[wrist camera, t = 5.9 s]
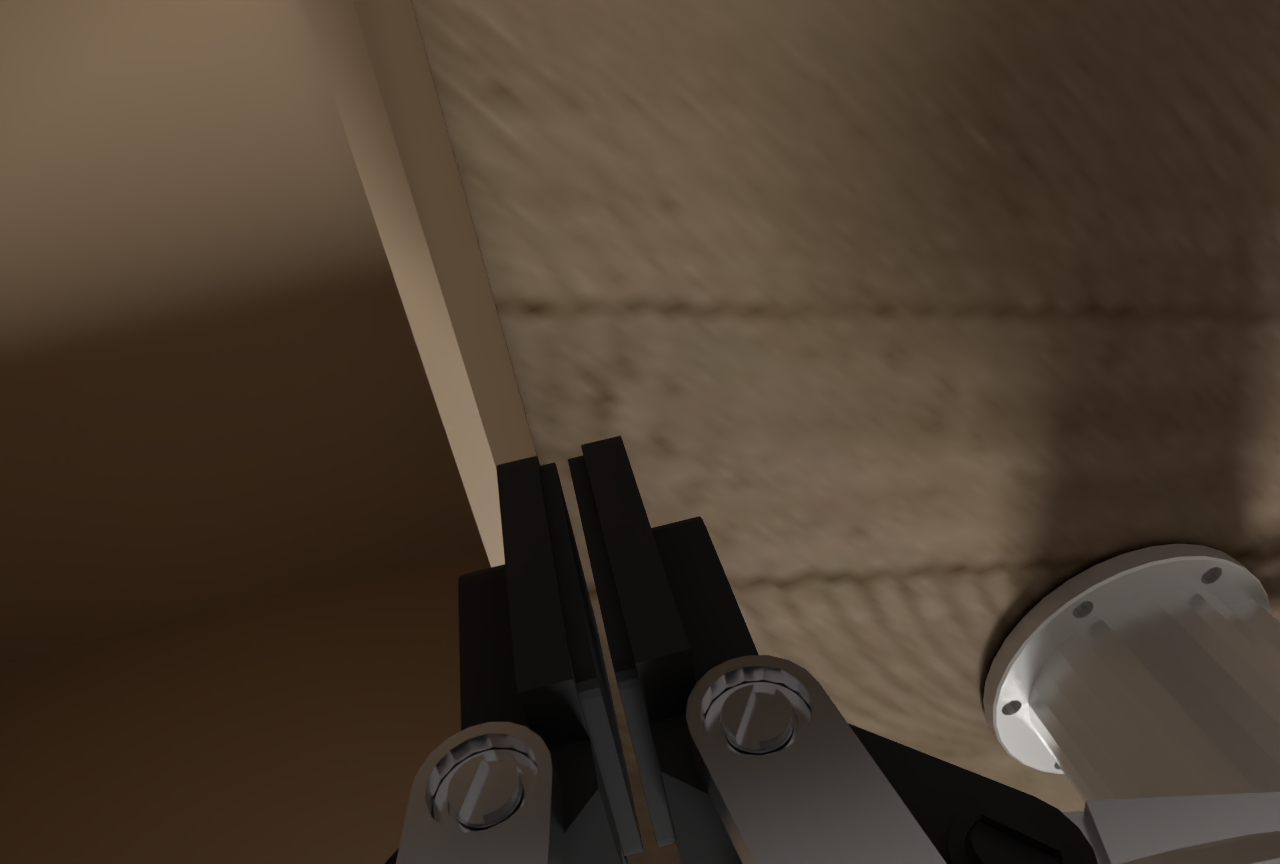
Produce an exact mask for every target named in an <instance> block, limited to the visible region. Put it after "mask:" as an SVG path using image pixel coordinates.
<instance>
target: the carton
mask: <svg viewBox="0 0 1280 864" xmlns="http://www.w3.org/2000/svg"><path fill="white" fill-rule="evenodd" d="M533 456H537V454H536V450H535V446H534V443H533V439H532V435H531V432H530V428H529V425H528V421H527V417H526V414H525V410H524V406H523V403H522V399H521V396H520V392H519V388H518V385H517V381H516V378H515V374H514V370H513V367H512V363H511V359H510V356H509V352H508V349H507V345H506V341H505V338H504V334H503V330H502V327H501V323H500V320H499V316H498V312H497V309H496V305H495V302H494V298H493V294H492V291H491V287H490V283H489V280H488V276H487V273H486V269H485V265H484V262H483V258H482V254H481V251H480V247H479V244H478V240H477V236H476V233H475V229H474V226H473V222H472V218H471V215H470V211H469V207H468V204H467V200H466V197H465V193H464V189H463V186H462V182H461V178H460V175H459V171H458V168H457V164H456V160H455V157H454V153H453V150H452V146H451V142H450V139H449V135H448V131H447V128H446V124H445V121H444V117H443V113H442V110H441V106H440V102H439V99H438V95H437V92H436V88H435V84H434V81H433V77H432V74H431V70H430V66H429V63H428V59H427V55H426V52H425V48H424V45H423V41H422V37H421V34H420V30H419V26H418V23H417V19H416V16H415V12H414V8H413V5H412V1H411V0H0V864H385V862H386V861H387V860H388V859H389V858H390V857H391V856H392V855H393V853H394V852H395V851H396V850H397V849H398V848H399V846H400V841H401V836H402V831H403V826H404V821H405V816H406V811H407V806H408V801H409V797H410V792H411V788H412V785H413V783H414V780H415V777H416V775H417V772H418V770H419V768H420V767H421V766H422V764H423V763H424V762H425V760H426V759H427V757H428V756H429V755H430V753H431V752H432V751H434V750H435V749H436V748H437V747H438V746H439V745H441V744H442V743H443V742H444V741H445V740H446V739H448V738H449V737H451V736H453V735H455V734H457V733H459V732H460V731H461V702H460V654H459V606H458V580H459V577H460V575H463V574H467V573H471V572H475V571H479V570H483V569H487V568H491V567H495V566H500V565H504V564H505V557H504V546H503V535H502V524H501V514H500V503H499V492H498V481H497V468H496V466H497V465H499V464H503V463H508V462H512V461H516V460H520V459H525V458H529V457H533Z"/></svg>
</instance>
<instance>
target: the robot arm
mask: <svg viewBox="0 0 1280 864" xmlns="http://www.w3.org/2000/svg"><path fill="white" fill-rule="evenodd" d="M581 447H582V451H583V455H584V456H580V457H576V458H571V459H568V462H569V467H570V471H571V476H572V481H573V485H574V490H575V494H576V499H577V504H578V508H579V513H580V517H581V522H582V526H583V531H584V536H585V540H586V545H587V549H588V554H589V558H590V563H591V568H592V572H593V577H594V581H595V586H596V591H597V595H598V600H599V604H600V609H601V613H602V618H603V623H604V627H605V632H606V636H607V641H608V645H609V650H610V654H611V659H612V663H613V667H614V672H615V676H616V680H617V684H618V688H619V692H620V696H621V700H622V704H623V708H624V712H625V716H626V720H627V724H628V728H629V732H630V736H631V740H632V744H633V748H634V752H635V756H636V760H637V764H638V768H639V772H640V776H641V780H642V784H643V788H644V792H645V797H646V801H647V805H648V809H649V813H650V817H651V821H652V825H653V829H654V833H655V837H656V841H657V844H658V847H662V846H666V845H669V844H673V843H676V844H677V848H678V852H679V856H680V860H681V864H1280V622H1279V621H1278V620H1276V619H1275V618H1274V617H1273V616H1272V615H1271V611H1270V606H1269V600H1268V595H1267V593H1266V591H1265V590H1264V588H1263V586H1262V584H1261V582H1260V581H1259V580H1258V579H1257V578H1256V577H1255V576H1254V575H1253V574H1252V573H1251V572H1250V571H1249V570H1247V569H1246V568H1245V567H1244V566H1243V565H1242V564H1241V563H1240V562H1239V561H1237V560H1235V559H1234V558H1232V557H1231V556H1229V555H1227V554H1226V553H1224V552H1223V551H1220V550H1216V549H1213V548H1210V547H1206V546H1203V545H1191V544H1169V545H1160V546H1151V547H1147V548H1143V549H1139V550H1136V551H1132V552H1128V553H1124V554H1121V555H1118V556H1116V557H1114V558H1111V559H1109V560H1106V561H1104V562H1101V563H1099V564H1096V565H1094V566H1092V567H1091V568H1089V569H1087V570H1085V571H1083V572H1082V573H1080V574H1078V575H1076V576H1074V577H1073V578H1071V579H1069V580H1067V581H1066V582H1065V583H1063V584H1062V585H1061V586H1059V587H1058V588H1057V589H1055V590H1054V591H1052V592H1051V593H1050V594H1048V595H1047V596H1046V597H1044V598H1043V599H1042V600H1041V601H1040V602H1039V603H1038V604H1037V605H1036V606H1035V607H1033V608H1032V609H1031V610H1030V611H1029V612H1028V613H1027V614H1026V615H1025V616H1024V617H1023V618H1022V619H1021V620H1020V622H1019V623H1018V624H1017V625H1016V627H1015V628H1014V629H1013V630H1012V631H1011V633H1010V634H1009V635H1008V636H1007V638H1006V639H1005V641H1004V642H1003V644H1002V646H1001V648H1000V649H999V651H998V653H997V655H996V656H995V658H994V660H993V662H992V665H991V667H990V670H989V673H988V676H987V679H986V682H985V689H984V698H983V704H984V710H985V717H986V720H987V722H988V724H989V726H990V728H991V730H992V732H993V734H994V735H995V737H996V738H997V739H998V741H999V742H1000V744H1001V745H1002V746H1003V748H1004V749H1005V751H1006V752H1007V753H1008V754H1009V755H1010V756H1012V757H1013V758H1014V759H1016V760H1017V761H1018V762H1020V763H1021V764H1023V765H1026V766H1029V767H1031V768H1034V769H1036V770H1039V771H1044V772H1050V773H1057V774H1065V775H1066V776H1067V778H1068V779H1069V781H1070V782H1071V784H1072V785H1073V786H1074V788H1075V789H1076V791H1077V792H1078V794H1079V795H1080V796H1081V798H1082V799H1083V801H1084V802H1085V809H1084V811H1076V812H1061V811H1060V810H1058V809H1057V808H1055V807H1053V806H1051V805H1049V804H1047V803H1046V802H1044V801H1042V800H1040V799H1038V798H1036V797H1034V796H1032V795H1029V794H1027V793H1024V792H1021V791H1019V790H1016V789H1014V788H1011V787H1009V786H1006V785H1004V784H1001V783H999V782H996V781H993V780H991V779H988V778H986V777H983V776H981V775H978V774H976V773H973V772H971V771H968V770H965V769H963V768H960V767H958V766H955V765H953V764H950V763H948V762H945V761H943V760H940V759H937V758H935V757H932V756H930V755H927V754H925V753H922V752H920V751H917V750H915V749H912V748H909V747H907V746H904V745H902V744H899V743H897V742H894V741H892V740H889V739H887V738H884V737H881V736H879V735H876V734H874V733H871V732H869V731H866V730H864V729H861V728H859V727H856V726H853V725H851V724H848V723H847V722H846V720H845V719H844V717H843V716H842V714H841V713H840V712H839V710H838V709H837V707H836V706H835V705H834V703H833V702H832V700H831V699H830V697H829V696H828V695H827V693H826V692H825V690H824V689H823V687H822V686H821V685H820V683H819V682H818V681H817V680H816V679H815V678H814V677H813V676H812V675H811V674H810V673H809V672H808V671H807V670H806V669H804V668H802V667H801V666H799V665H797V664H795V663H793V662H791V661H789V660H786V659H782V658H778V657H774V656H769V655H758V652H757V650H756V647H755V645H754V643H753V640H752V638H751V635H750V633H749V630H748V628H747V626H746V623H745V621H744V618H743V616H742V613H741V611H740V609H739V606H738V604H737V601H736V599H735V596H734V594H733V592H732V589H731V587H730V584H729V582H728V579H727V577H726V575H725V572H724V570H723V567H722V565H721V563H720V560H719V558H718V555H717V553H716V550H715V548H714V546H713V543H712V541H711V538H710V536H709V533H708V531H707V529H706V526H705V524H704V522H703V520H702V518H701V517H700V516H699V517H695V518H691V519H687V520H683V521H679V522H675V523H671V524H667V525H662V526H658V527H654V528H651V527H650V524H649V521H648V518H647V515H646V511H645V508H644V505H643V502H642V499H641V496H640V493H639V490H638V487H637V484H636V481H635V478H634V475H633V471H632V468H631V465H630V462H629V459H628V456H627V453H626V450H625V447H624V444H623V441H622V438H621V436H617V437H613V438H609V439H605V440H600V441H596V442H592V443H588V444H584V445H581ZM496 468H497V481H498V492H499V503H500V514H501V524H502V535H503V546H504V557H505V564H504V565H500V566H495V567H491V568H487V569H483V570H479V571H475V572H471V573H467V574H463V575H460V577H459V580H458V606H459V654H460V702H461V731H460V732H459V733H457V734H455V735H453V736H451V737H449V738H448V739H446V740H445V741H444V742H443V743H442V744H441V745H439V746H438V747H437V748H436V749H435V750H434V751H432V752H431V753H430V755H429V756H428V757H427V759H426V760H425V762H424V763H423V764H422V766H421V767H420V768H419V770H418V772H417V775H416V777H415V780H414V783H413V785H412V788H411V792H410V797H409V801H408V806H407V811H406V816H405V821H404V826H403V831H402V836H401V841H400V846H399V848H398V849H397V850H396V851H395V852H394V853H393V855H392V856H391V857H390V858H389V859H388V860H387V861H386V862H385V864H628V861H627V856H629V855H632V854H636V853H640V852H643V845H642V840H641V835H640V831H639V826H638V821H637V816H636V811H635V807H634V802H633V797H632V792H631V787H630V783H629V778H628V773H627V768H626V763H625V759H624V754H623V749H622V744H621V739H620V735H619V730H618V725H617V720H616V715H615V711H614V706H613V701H612V696H611V691H610V687H609V682H608V677H607V672H606V667H605V663H604V658H603V653H602V648H601V643H600V639H599V634H598V629H597V625H596V621H595V617H594V612H593V608H592V604H591V601H590V597H589V593H588V589H587V585H586V581H585V577H584V573H583V569H582V565H581V561H580V557H579V553H578V549H577V546H576V542H575V538H574V534H573V530H572V526H571V522H570V518H569V514H568V510H567V506H566V502H565V498H564V495H563V491H562V487H561V483H560V479H559V475H558V471H557V467H556V464H555V463H550V464H546V465H542V466H540V464H539V460H538V457H537V456H533V457H529V458H525V459H520V460H516V461H512V462H508V463H503V464H499V465H497V466H496Z"/></svg>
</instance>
